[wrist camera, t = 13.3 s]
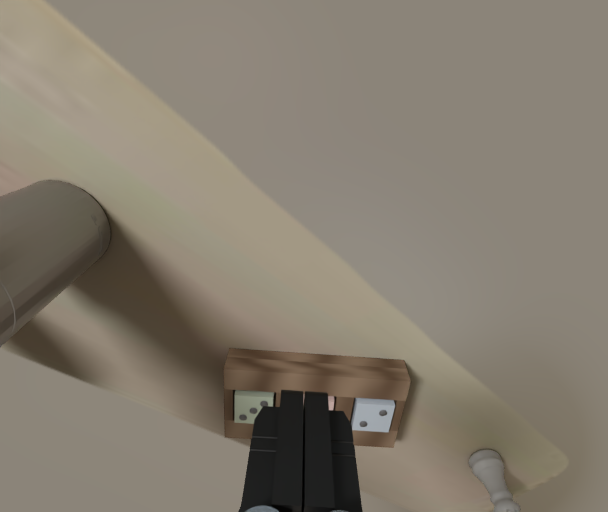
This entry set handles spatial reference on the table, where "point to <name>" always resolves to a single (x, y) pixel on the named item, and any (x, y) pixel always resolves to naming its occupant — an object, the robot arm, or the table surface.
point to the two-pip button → (372, 414)
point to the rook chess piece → (493, 479)
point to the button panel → (316, 385)
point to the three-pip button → (251, 404)
